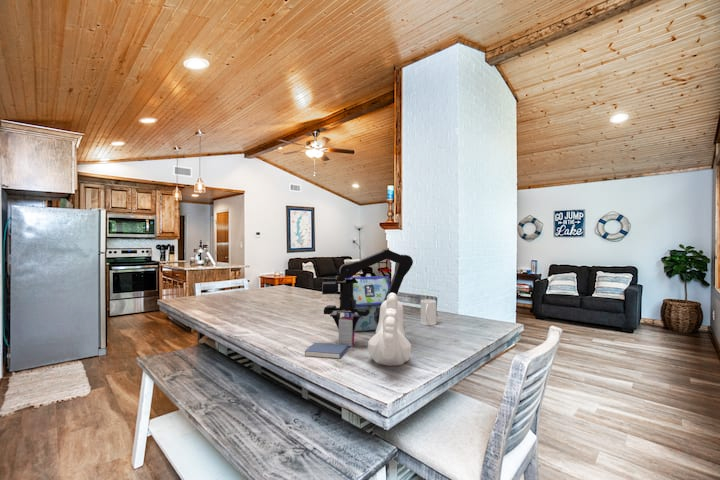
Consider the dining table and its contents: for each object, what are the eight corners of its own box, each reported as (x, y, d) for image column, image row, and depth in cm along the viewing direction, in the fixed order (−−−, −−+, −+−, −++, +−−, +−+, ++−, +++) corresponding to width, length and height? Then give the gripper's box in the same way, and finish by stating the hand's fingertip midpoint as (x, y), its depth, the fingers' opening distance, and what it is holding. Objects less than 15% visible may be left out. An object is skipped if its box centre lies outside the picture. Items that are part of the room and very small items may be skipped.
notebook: (347, 349, 139) (347, 344, 139) (340, 359, 129) (340, 353, 129) (314, 347, 143) (314, 342, 143) (304, 356, 132) (304, 351, 132)
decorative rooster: (375, 352, 137) (375, 289, 137) (415, 356, 132) (415, 291, 132) (354, 375, 113) (354, 299, 113) (402, 381, 108) (401, 302, 108)
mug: (433, 327, 175) (433, 303, 175) (416, 325, 178) (416, 302, 178) (438, 322, 186) (438, 300, 186) (422, 320, 189) (422, 299, 189)
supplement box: (351, 347, 142) (351, 320, 142) (337, 347, 143) (337, 319, 143) (354, 343, 147) (354, 316, 148) (341, 342, 149) (341, 316, 149)
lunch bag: (349, 334, 162) (349, 278, 162) (342, 325, 178) (342, 275, 178) (394, 331, 167) (394, 277, 167) (383, 323, 184) (383, 274, 184)
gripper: (372, 291, 151) (372, 327, 151) (331, 290, 155) (331, 325, 155) (366, 295, 140) (367, 334, 140) (323, 294, 144) (323, 331, 144)
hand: (346, 331), depth 145 cm, fingers closed on supplement box, 6 cm apart
